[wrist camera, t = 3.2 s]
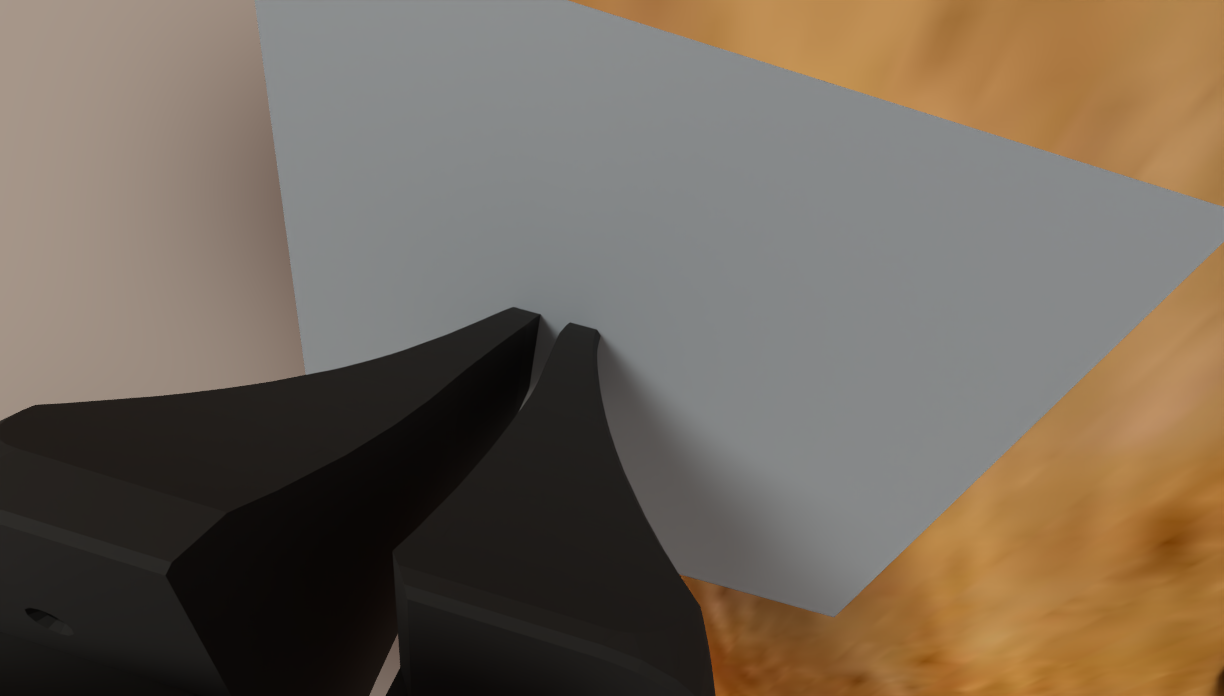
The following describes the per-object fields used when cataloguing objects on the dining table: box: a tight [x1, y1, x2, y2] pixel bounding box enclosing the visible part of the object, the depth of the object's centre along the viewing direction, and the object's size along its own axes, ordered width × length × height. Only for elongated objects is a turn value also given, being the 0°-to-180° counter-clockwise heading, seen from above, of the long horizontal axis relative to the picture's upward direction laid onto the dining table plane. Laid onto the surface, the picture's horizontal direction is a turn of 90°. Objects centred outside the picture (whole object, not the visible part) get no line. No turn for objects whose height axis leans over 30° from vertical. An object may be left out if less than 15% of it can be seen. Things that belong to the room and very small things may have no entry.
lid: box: [255, 0, 1224, 617], centre depth 10 cm, size 16×13×1 cm
